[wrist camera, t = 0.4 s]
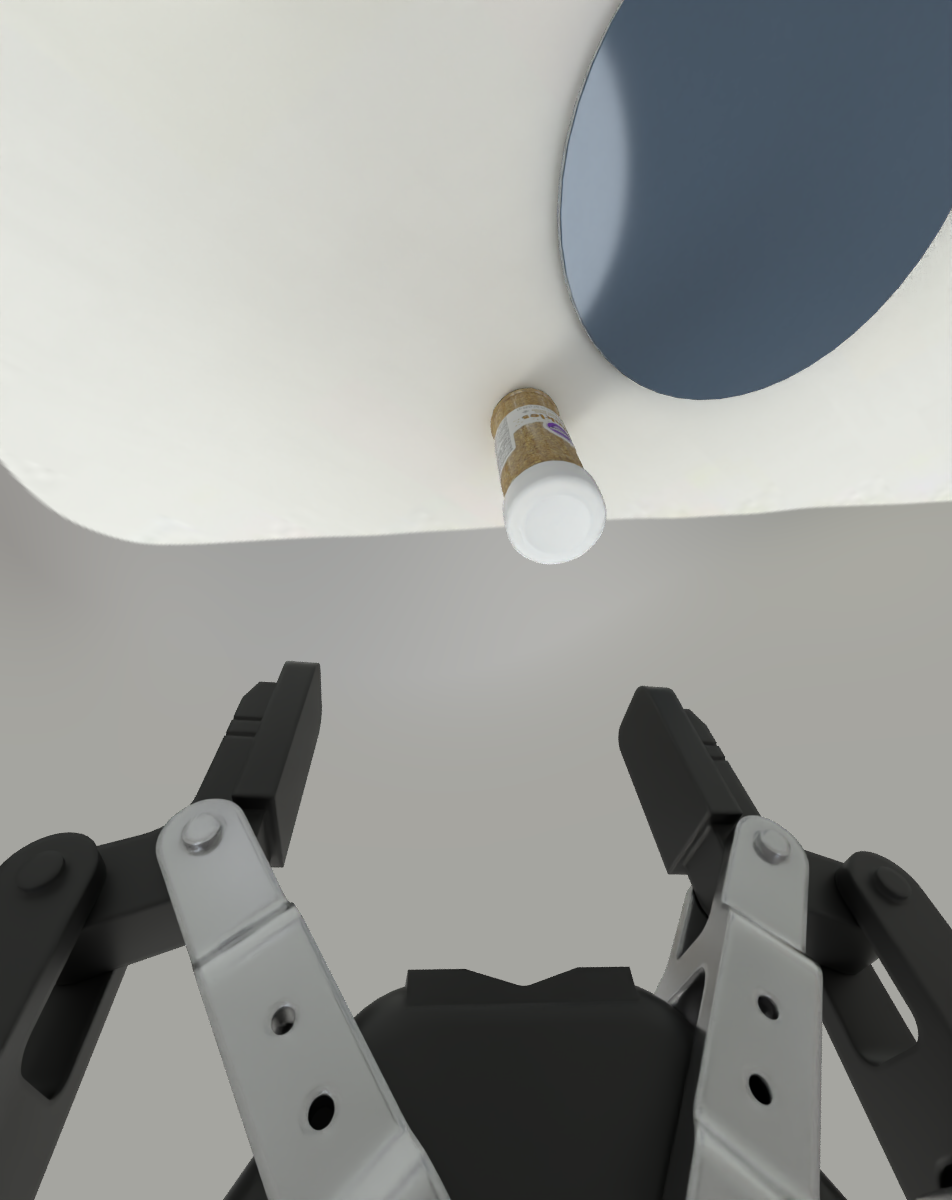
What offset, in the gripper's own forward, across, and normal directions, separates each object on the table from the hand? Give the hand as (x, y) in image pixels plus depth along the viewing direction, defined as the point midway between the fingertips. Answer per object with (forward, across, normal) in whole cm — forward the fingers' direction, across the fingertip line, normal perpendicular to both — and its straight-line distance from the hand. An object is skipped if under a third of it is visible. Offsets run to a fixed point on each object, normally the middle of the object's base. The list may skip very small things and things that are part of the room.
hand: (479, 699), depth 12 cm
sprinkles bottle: (+24, -4, -2) cm, 25 cm away
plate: (+23, -13, -15) cm, 30 cm away
